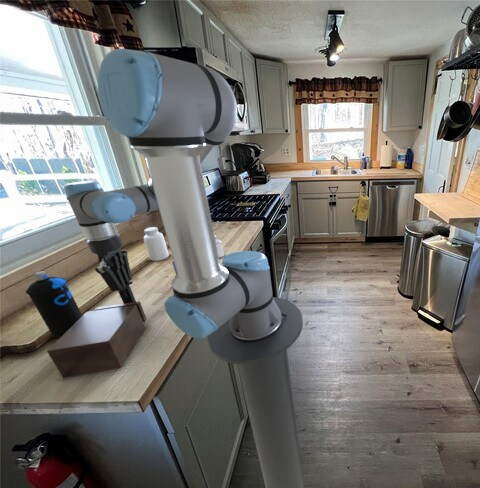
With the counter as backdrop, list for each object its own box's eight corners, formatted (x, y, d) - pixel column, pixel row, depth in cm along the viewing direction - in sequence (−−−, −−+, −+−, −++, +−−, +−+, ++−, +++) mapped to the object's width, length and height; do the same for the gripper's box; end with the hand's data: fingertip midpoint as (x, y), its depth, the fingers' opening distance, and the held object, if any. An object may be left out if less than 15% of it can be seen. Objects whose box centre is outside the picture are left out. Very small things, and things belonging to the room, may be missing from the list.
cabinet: (98, 335, 77) (86, 311, 73) (145, 328, 79) (136, 304, 75) (63, 378, 63) (46, 351, 60) (121, 367, 66) (108, 341, 62)
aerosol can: (45, 342, 75) (9, 283, 67) (60, 324, 82) (29, 269, 74) (80, 333, 78) (50, 276, 70) (91, 317, 85) (65, 263, 77)
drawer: (112, 316, 83) (104, 299, 80) (152, 311, 85) (145, 293, 82) (76, 360, 67) (64, 340, 64) (125, 352, 69) (116, 332, 66)
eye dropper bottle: (221, 258, 122) (216, 235, 117) (210, 258, 123) (204, 235, 118) (225, 254, 126) (220, 231, 121) (215, 254, 127) (209, 231, 122)
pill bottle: (156, 262, 121) (146, 232, 115) (147, 259, 124) (136, 230, 118) (172, 256, 127) (164, 227, 121) (163, 252, 131) (154, 224, 125)
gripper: (101, 230, 79) (127, 294, 89) (72, 246, 68) (106, 319, 77) (128, 227, 81) (151, 291, 90) (104, 243, 69) (133, 315, 78)
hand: (130, 304), depth 83 cm, fingers closed
